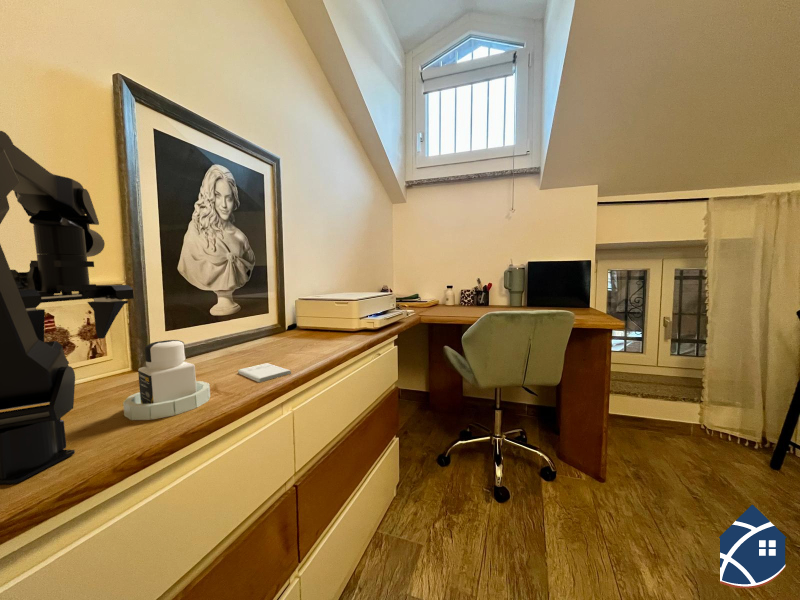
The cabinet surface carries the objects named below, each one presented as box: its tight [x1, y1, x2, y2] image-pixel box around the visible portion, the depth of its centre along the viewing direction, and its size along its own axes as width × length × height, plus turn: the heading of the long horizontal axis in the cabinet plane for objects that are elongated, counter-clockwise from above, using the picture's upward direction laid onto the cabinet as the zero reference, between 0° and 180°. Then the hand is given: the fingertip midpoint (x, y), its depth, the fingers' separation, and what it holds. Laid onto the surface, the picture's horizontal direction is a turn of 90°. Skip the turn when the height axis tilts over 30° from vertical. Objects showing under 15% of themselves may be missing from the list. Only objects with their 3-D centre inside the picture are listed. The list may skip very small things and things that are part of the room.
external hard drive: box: [237, 362, 292, 383], centre depth 78 cm, size 2×8×12 cm
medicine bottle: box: [137, 339, 197, 404], centre depth 58 cm, size 7×7×12 cm
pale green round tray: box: [122, 380, 211, 421], centre depth 59 cm, size 13×13×2 cm
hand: (72, 344), depth 53 cm, fingers open, 9 cm apart
